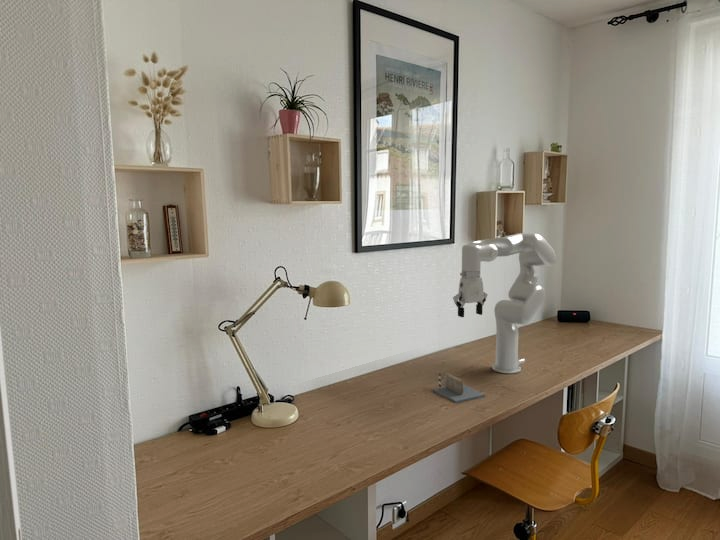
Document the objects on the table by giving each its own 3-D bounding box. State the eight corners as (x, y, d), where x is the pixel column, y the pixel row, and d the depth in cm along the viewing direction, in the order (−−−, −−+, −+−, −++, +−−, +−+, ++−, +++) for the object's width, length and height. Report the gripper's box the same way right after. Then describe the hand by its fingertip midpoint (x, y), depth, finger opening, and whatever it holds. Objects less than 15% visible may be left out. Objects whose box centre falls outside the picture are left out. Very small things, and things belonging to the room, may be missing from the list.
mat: (460, 384, 209) (460, 382, 209) (484, 396, 196) (485, 394, 196) (432, 390, 202) (432, 388, 202) (456, 403, 189) (456, 401, 189)
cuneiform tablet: (438, 372, 204) (456, 381, 194) (446, 371, 206) (464, 380, 195) (439, 386, 205) (456, 396, 194) (446, 384, 207) (464, 394, 196)
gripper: (460, 277, 200) (459, 319, 202) (493, 274, 208) (492, 314, 210) (448, 275, 207) (447, 316, 209) (480, 272, 215) (480, 311, 217)
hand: (470, 315), depth 210 cm, fingers open, 9 cm apart
